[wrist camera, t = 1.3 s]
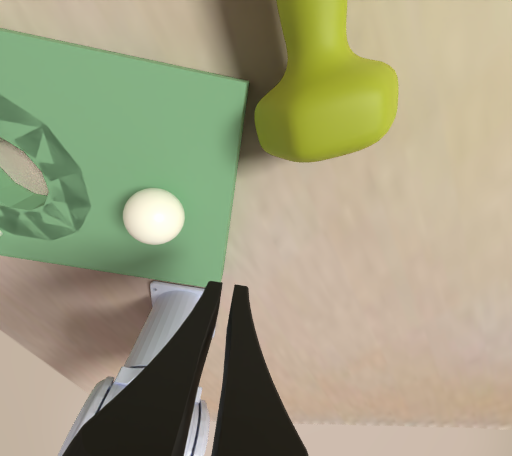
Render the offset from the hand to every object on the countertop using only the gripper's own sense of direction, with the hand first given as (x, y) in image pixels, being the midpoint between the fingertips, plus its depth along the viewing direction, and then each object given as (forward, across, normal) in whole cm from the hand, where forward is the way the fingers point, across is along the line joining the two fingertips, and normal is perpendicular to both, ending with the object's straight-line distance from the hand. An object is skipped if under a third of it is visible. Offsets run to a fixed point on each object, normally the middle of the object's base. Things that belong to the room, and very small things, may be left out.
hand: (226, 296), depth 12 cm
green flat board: (+10, +12, 0) cm, 16 cm away
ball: (+6, +6, 0) cm, 8 cm away
